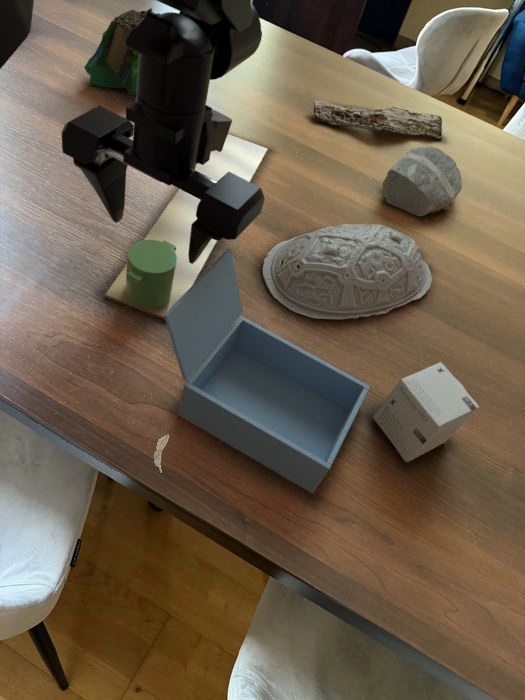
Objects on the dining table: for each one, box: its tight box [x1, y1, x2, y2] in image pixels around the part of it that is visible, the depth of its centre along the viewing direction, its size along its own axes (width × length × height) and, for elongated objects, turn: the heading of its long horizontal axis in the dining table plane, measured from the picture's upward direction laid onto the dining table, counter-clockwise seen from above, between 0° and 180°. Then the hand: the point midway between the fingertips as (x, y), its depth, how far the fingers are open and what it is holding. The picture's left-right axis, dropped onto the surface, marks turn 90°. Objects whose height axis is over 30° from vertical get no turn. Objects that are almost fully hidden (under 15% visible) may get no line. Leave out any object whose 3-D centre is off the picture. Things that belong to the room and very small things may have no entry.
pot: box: [125, 239, 177, 309], centre depth 63 cm, size 7×5×6 cm
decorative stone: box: [382, 145, 463, 218], centre depth 89 cm, size 13×10×6 cm
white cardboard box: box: [372, 361, 480, 463], centre depth 59 cm, size 6×6×7 cm
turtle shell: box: [261, 223, 433, 320], centre depth 74 cm, size 16×25×7 cm, turn 115°
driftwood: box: [312, 100, 443, 140], centre depth 103 cm, size 25×10×5 cm
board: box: [104, 133, 268, 320], centre depth 76 cm, size 40×8×1 cm, turn 164°
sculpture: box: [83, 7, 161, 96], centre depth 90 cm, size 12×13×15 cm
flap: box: [164, 247, 244, 382], centre depth 53 cm, size 7×11×1 cm
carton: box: [177, 315, 371, 494], centre depth 57 cm, size 15×11×5 cm
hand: (155, 240), depth 59 cm, fingers open, 9 cm apart
